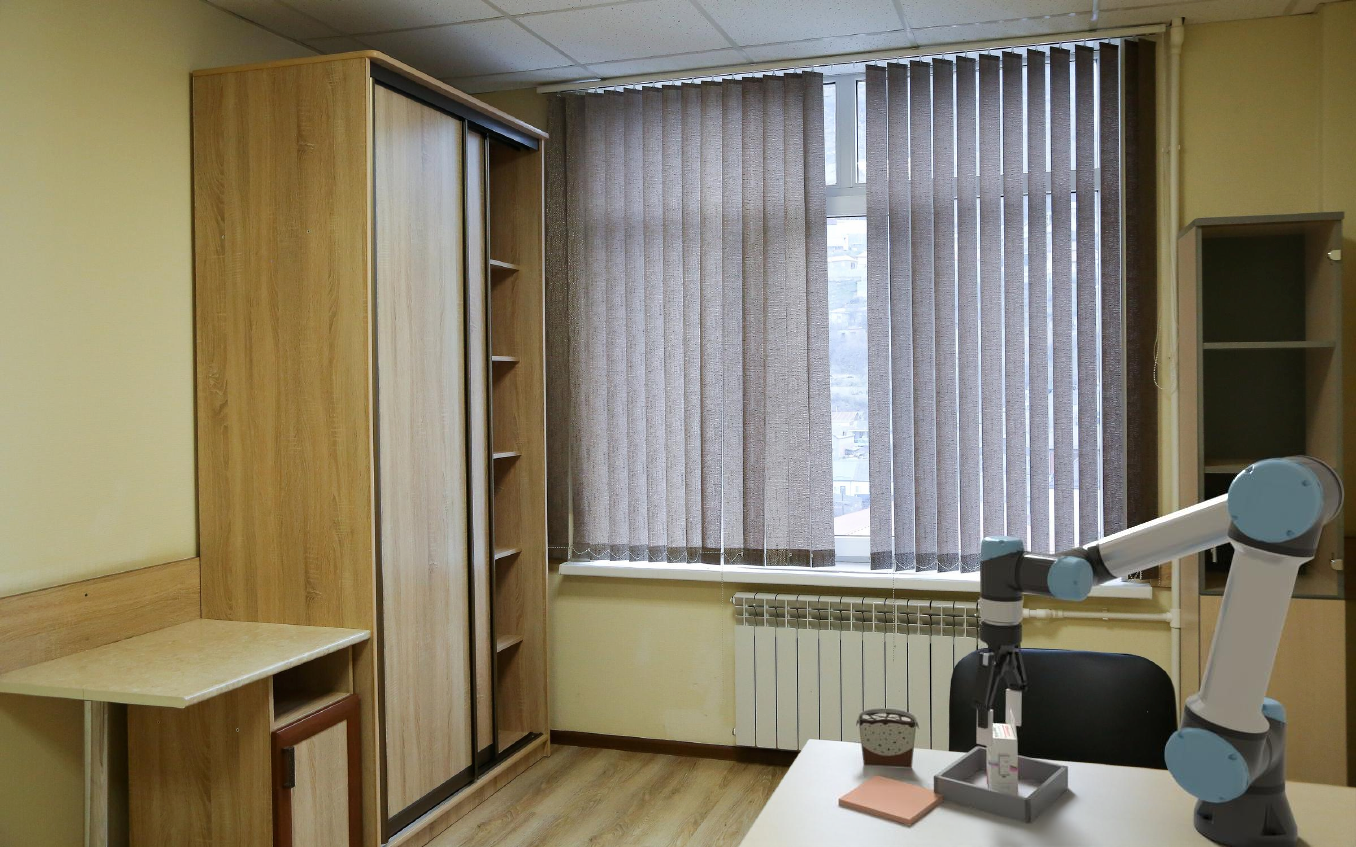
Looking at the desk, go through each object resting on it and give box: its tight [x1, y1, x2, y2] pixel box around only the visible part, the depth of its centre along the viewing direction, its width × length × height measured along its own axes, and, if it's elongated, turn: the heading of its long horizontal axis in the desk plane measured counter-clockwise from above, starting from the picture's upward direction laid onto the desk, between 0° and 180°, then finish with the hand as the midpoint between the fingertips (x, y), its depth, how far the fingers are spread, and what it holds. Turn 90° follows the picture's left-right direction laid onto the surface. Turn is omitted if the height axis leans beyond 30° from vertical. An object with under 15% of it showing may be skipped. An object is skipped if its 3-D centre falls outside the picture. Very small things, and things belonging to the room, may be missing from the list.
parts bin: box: [933, 745, 1069, 824], centre depth 182 cm, size 18×20×4 cm
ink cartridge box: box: [986, 709, 1019, 796], centre depth 182 cm, size 9×5×15 cm, turn 168°
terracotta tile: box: [838, 774, 944, 826], centre depth 179 cm, size 14×14×1 cm
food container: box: [855, 707, 920, 769], centre depth 198 cm, size 12×6×10 cm, turn 80°
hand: (999, 734), depth 182 cm, fingers open, 13 cm apart
